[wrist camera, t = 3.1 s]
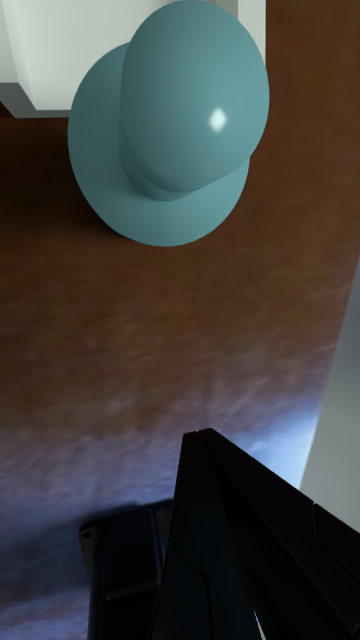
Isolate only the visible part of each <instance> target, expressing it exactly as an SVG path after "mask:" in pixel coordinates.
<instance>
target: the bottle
mask: <svg viewBox="0 0 360 640" xmlns="http://www.w3.org/2000/svg"><path fill="white" fill-rule="evenodd" d="M268 109H269V85H268V78H267V73H266V69H265V65H264V61H263V59H262V56H261V53H260V51H259V49H258V47H257V45H256V43H255V41H254V40H253V38H252V37H251V35H250V33H249V32H248V31H247V30H246V28H245V27H244V26H243V25H242V24H241V23H240V22H239V21H238V20H237V19H236V18H235V17H234V16H233V15H231V14H230V13H229V12H227V11H226V10H224V9H222V8H220V7H218V6H216V5H214V4H211V3H208V2H205V1H199V0H181V1H176V2H172V3H170V4H167V5H165V6H162V7H161V8H159V9H158V10H156V11H154V12H153V13H152V14H151V15H150V16H148V17H147V18H146V19H145V20H144V21H143V23H142V24H141V25H140V26H139V27H138V29H137V30H136V32H135V34H134V35H133V37H132V39H131V41H130V42H127V43H125V44H122V45H120V46H117V47H116V48H114V49H112V50H111V51H109V52H107V53H106V54H105V55H103V56H102V57H101V58H100V59H99V60H98V61H97V62H95V64H94V65H93V66H92V67H91V68H90V70H89V71H88V72H87V73H86V75H85V77H84V78H83V80H82V81H81V83H80V85H79V87H78V89H77V92H76V94H75V96H74V99H73V103H72V106H71V110H70V115H69V123H68V147H69V156H70V160H71V164H72V168H73V172H74V174H75V177H76V180H77V183H78V185H79V187H80V189H81V191H82V193H83V195H84V196H85V198H86V199H87V201H88V202H89V204H90V205H91V207H92V208H93V209H94V210H95V212H96V213H97V214H98V215H99V216H100V217H101V219H102V220H103V221H104V222H105V223H106V224H107V225H108V226H109V227H110V228H111V229H113V230H114V231H115V232H117V233H119V234H121V235H122V236H125V237H127V238H130V239H133V240H135V241H138V242H140V243H144V244H148V245H154V246H176V245H182V244H186V243H189V242H192V241H195V240H197V239H199V238H201V237H203V236H205V235H206V234H208V233H210V232H211V231H213V230H214V229H215V228H216V227H217V226H218V225H220V224H221V223H222V222H223V220H224V219H225V218H226V217H227V216H228V215H229V213H230V212H231V211H232V209H233V208H234V206H235V204H236V203H237V201H238V199H239V197H240V195H241V192H242V190H243V187H244V185H245V181H246V177H247V173H248V167H249V159H250V155H251V154H252V153H253V151H254V150H255V148H256V146H257V144H258V143H259V141H260V139H261V136H262V134H263V131H264V128H265V124H266V121H267V115H268Z"/></svg>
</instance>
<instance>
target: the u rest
mask: <svg viewBox="0 0 360 640" xmlns="http://www.w3.org/2000/svg"><path fill="white" fill-rule="evenodd" d="M176 1H181V0H0V101H1V102H2V104H3V105H4V106H5V107H6V108H7V109H8V110H9V111H10V113H11V114H12V115H13V116H14V117H15V118H54V117H69V115H70V110H71V106H72V103H73V99H74V96H75V94H76V92H77V89H78V87H79V85H80V83H81V81H82V80H83V78H84V77H85V75H86V73H87V72H88V71H89V70H90V68H91V67H92V66H93V65H94V64H95V62H97V61H98V60H99V59H100V58H101V57H102V56H103V55H105V54H106V53H107V52H109V51H111V50H112V49H114V48H116V47H117V46H120V45H122V44H125V43H127V42H130V41H131V39H132V37H133V35H134V34H135V32H136V30H137V29H138V27H139V26H140V25H141V24H142V23H143V21H144V20H145V19H146V18H147V17H148V16H150V15H151V14H152V13H153V12H154V11H156V10H158V9H159V8H161V7H162V6H165V5H167V4H170V3H172V2H176ZM199 1H205V2H208V3H211V4H214V5H216V6H218V7H220V8H222V9H224V10H226V11H227V12H229V13H230V14H231V15H233V16H234V17H235V18H236V19H237V20H238V21H239V22H240V23H241V24H242V25H243V26H244V27H245V28H246V30H247V31H248V32H249V33H250V35H251V37H252V38H253V40H254V41H255V43H256V45H257V47H258V49H259V51H260V53H261V56H262V59H263V61H264V65H265V0H199Z"/></svg>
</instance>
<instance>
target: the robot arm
mask: <svg viewBox="0 0 360 640" xmlns="http://www.w3.org/2000/svg"><path fill="white" fill-rule="evenodd" d="M79 540H80V544H81V548H82V552H83V555H84V559H85V563H86V567H87V571H88V574H89V578H90V582H91V592H90V606H89V621H88V635H87V640H262V638H261V634H260V631H259V627H258V623H257V620H256V616H257V618H258V621H259V623H260V626H261V628H262V631H263V633H264V636H265V638H266V640H360V533H359V532H357V531H356V530H354V529H353V528H351V527H350V526H348V525H347V524H346V523H344V522H343V521H341V520H339V519H338V518H337V517H335V516H334V515H332V514H331V513H330V512H328V511H327V510H325V509H324V508H323V507H321V506H320V505H318V504H317V503H316V504H314V501H313V500H311V499H310V498H309V497H307V496H306V495H304V494H303V493H302V492H300V491H299V490H297V489H296V488H295V487H293V486H292V485H291V484H289V483H288V482H286V481H285V480H284V479H282V478H281V477H279V476H278V475H277V474H275V473H274V472H272V471H271V470H270V469H268V468H267V467H265V466H264V465H263V464H261V463H260V462H259V461H257V460H256V459H254V458H253V457H252V456H250V455H249V454H247V453H246V452H245V451H243V450H242V449H240V448H239V447H238V446H236V445H235V444H234V443H232V442H231V441H229V440H228V439H227V438H225V437H224V436H222V435H221V434H220V433H218V432H217V431H215V430H214V429H212V428H207V429H202V430H199V431H198V432H196V431H193V432H188V433H184V434H183V438H182V445H181V452H180V458H179V465H178V472H177V479H176V485H175V492H174V499H173V501H171V502H167V503H163V504H159V505H155V506H152V507H148V508H144V509H140V510H136V511H132V512H128V513H124V514H120V515H116V516H112V517H109V518H105V519H101V520H97V521H93V522H89V523H86V524H83V525H82V526H81V527H80V529H79ZM254 611H255V613H254ZM255 614H256V616H255Z"/></svg>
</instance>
